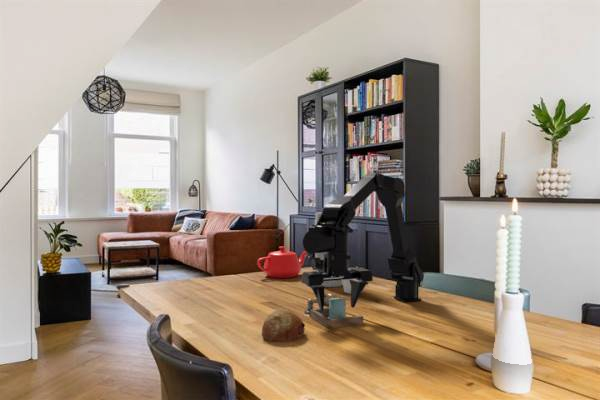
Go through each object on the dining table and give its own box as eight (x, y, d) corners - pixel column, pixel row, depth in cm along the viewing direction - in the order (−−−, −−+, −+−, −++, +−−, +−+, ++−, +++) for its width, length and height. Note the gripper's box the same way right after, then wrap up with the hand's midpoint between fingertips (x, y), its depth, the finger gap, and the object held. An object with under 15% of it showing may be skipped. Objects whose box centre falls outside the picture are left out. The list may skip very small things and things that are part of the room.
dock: (341, 313, 129) (341, 306, 129) (363, 324, 118) (363, 316, 118) (309, 316, 125) (309, 309, 125) (328, 328, 114) (328, 320, 114)
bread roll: (269, 344, 113) (255, 315, 113) (306, 326, 114) (292, 297, 113) (269, 358, 103) (254, 327, 103) (310, 338, 104) (295, 307, 104)
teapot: (267, 282, 175) (267, 250, 175) (248, 276, 188) (248, 246, 187) (319, 275, 189) (319, 246, 189) (298, 270, 202) (298, 243, 202)
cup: (364, 297, 148) (364, 273, 148) (339, 296, 149) (339, 272, 149) (365, 291, 158) (366, 268, 158) (343, 290, 160) (343, 267, 160)
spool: (341, 317, 125) (341, 297, 125) (350, 321, 120) (350, 300, 120) (324, 318, 123) (324, 298, 123) (333, 323, 118) (333, 302, 118)
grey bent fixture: (326, 301, 142) (326, 289, 142) (344, 310, 132) (344, 297, 131) (292, 305, 138) (292, 292, 138) (307, 314, 127) (307, 301, 127)
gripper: (353, 245, 132) (353, 299, 132) (293, 248, 125) (293, 305, 126) (373, 250, 122) (373, 308, 122) (309, 253, 115) (309, 315, 115)
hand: (337, 308), depth 122 cm, fingers open, 9 cm apart
